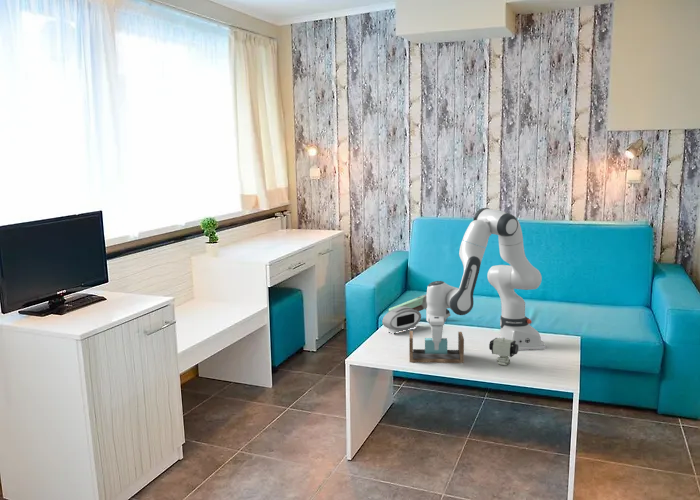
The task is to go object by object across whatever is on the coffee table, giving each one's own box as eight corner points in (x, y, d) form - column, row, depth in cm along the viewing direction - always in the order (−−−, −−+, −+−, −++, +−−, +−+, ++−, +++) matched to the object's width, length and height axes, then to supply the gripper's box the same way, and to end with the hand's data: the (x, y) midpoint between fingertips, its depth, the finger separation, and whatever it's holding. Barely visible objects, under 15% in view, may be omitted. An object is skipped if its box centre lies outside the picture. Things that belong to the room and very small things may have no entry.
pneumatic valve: (492, 360, 268) (493, 334, 266) (518, 365, 261) (518, 338, 260) (487, 364, 263) (488, 337, 262) (513, 368, 257) (514, 341, 255)
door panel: (446, 355, 273) (446, 338, 272) (447, 357, 270) (447, 340, 269) (424, 354, 274) (424, 338, 273) (425, 357, 271) (425, 340, 270)
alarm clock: (390, 336, 310) (390, 312, 308) (382, 333, 314) (382, 309, 313) (421, 328, 324) (421, 305, 322) (413, 325, 329) (413, 303, 327)
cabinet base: (461, 354, 277) (461, 331, 275) (463, 363, 265) (463, 339, 263) (409, 353, 279) (409, 331, 278) (409, 362, 267) (409, 338, 266)
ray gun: (451, 317, 334) (438, 285, 332) (398, 338, 339) (385, 306, 337) (450, 314, 341) (437, 282, 339) (398, 334, 346) (385, 303, 344)
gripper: (428, 311, 280) (428, 339, 282) (429, 322, 260) (429, 353, 262) (442, 311, 279) (441, 340, 281) (444, 322, 259) (444, 353, 261)
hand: (436, 346), depth 271 cm, fingers open, 8 cm apart
